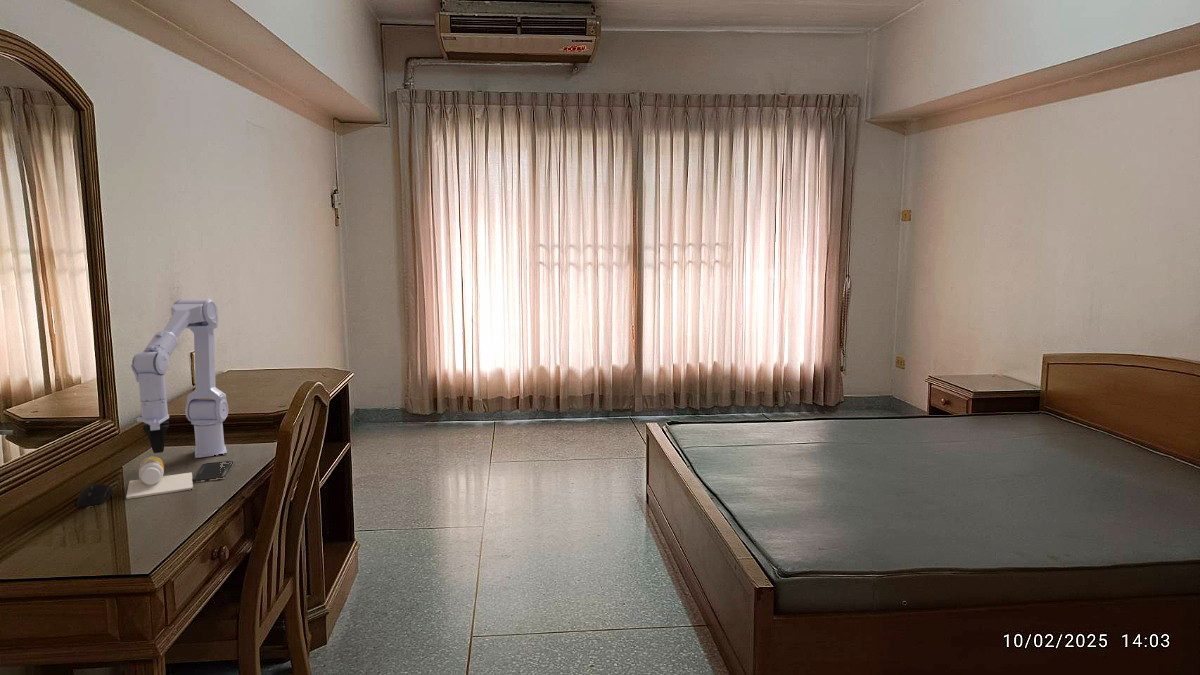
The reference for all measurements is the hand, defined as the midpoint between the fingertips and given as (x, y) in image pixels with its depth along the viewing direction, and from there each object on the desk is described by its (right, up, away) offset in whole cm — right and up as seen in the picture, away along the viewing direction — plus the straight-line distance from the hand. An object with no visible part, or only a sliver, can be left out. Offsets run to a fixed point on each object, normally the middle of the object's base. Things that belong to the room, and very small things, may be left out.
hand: (158, 452), depth 200 cm
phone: (+10, -7, +8) cm, 15 cm away
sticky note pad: (+2, -8, -3) cm, 9 cm away
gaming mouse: (-8, -10, -13) cm, 19 cm away
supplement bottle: (-3, -4, +3) cm, 6 cm away
